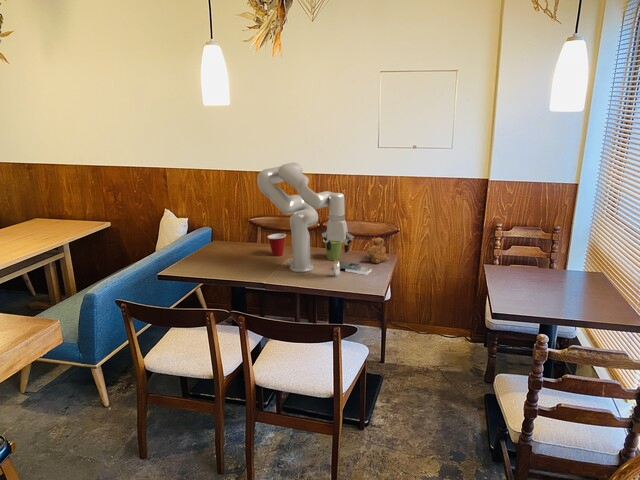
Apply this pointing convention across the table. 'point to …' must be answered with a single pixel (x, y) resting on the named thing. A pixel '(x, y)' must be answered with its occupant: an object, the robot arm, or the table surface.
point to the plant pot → (334, 250)
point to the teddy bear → (377, 251)
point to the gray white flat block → (354, 268)
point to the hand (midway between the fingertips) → (337, 251)
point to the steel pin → (336, 268)
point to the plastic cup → (277, 243)
